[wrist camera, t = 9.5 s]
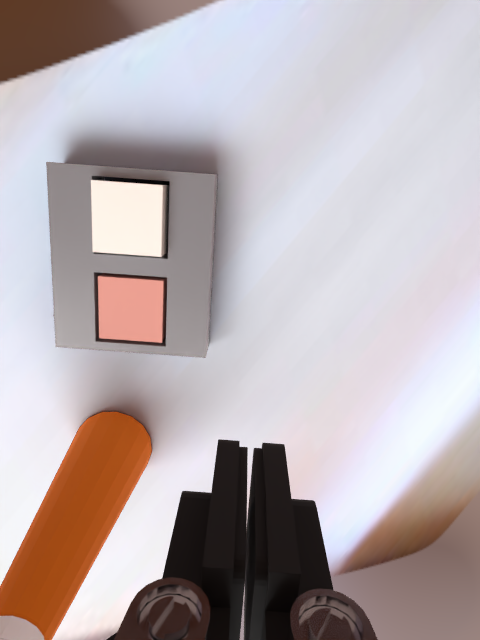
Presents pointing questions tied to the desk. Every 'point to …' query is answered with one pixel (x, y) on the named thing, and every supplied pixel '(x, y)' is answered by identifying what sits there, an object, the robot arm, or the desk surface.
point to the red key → (132, 307)
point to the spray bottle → (72, 524)
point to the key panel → (132, 259)
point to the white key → (129, 218)
